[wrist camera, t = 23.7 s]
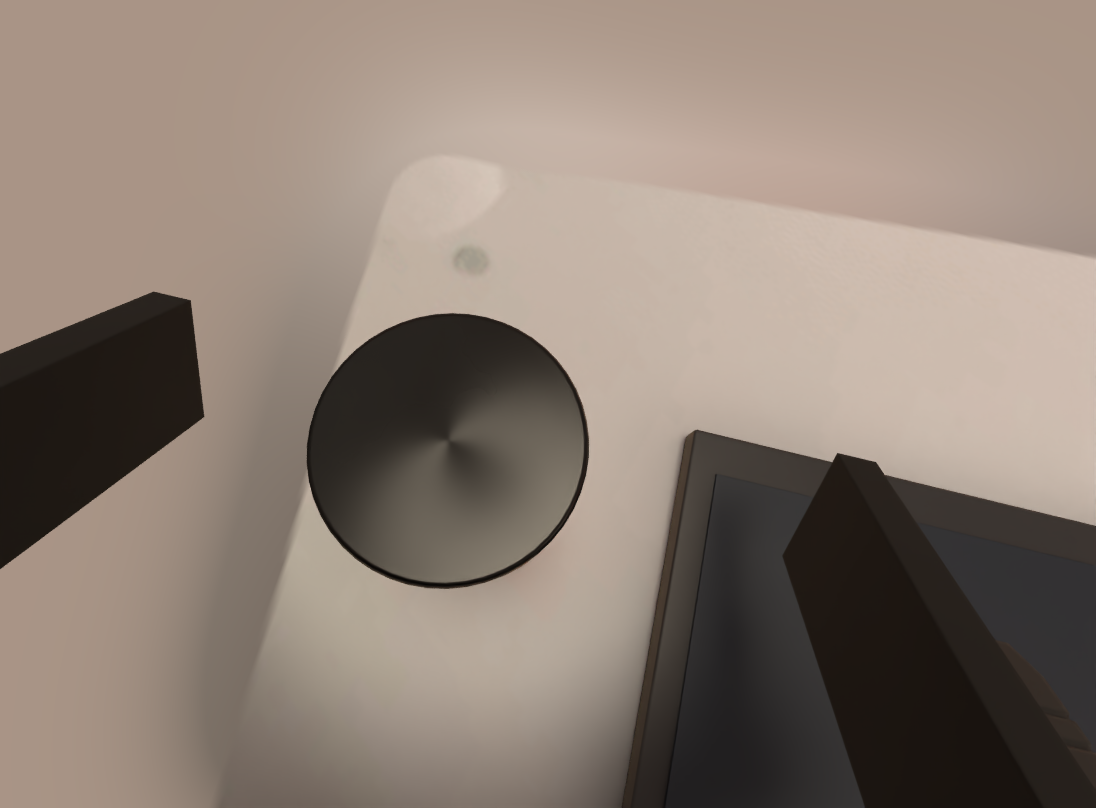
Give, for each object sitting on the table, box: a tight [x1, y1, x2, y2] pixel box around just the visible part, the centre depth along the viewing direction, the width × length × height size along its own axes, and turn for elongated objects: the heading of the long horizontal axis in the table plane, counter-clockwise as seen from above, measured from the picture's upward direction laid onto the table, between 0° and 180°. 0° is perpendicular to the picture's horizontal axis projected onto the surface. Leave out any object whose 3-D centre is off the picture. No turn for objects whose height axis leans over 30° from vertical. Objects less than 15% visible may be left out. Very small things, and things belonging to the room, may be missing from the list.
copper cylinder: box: [307, 313, 589, 589], centre depth 11 cm, size 3×3×12 cm
